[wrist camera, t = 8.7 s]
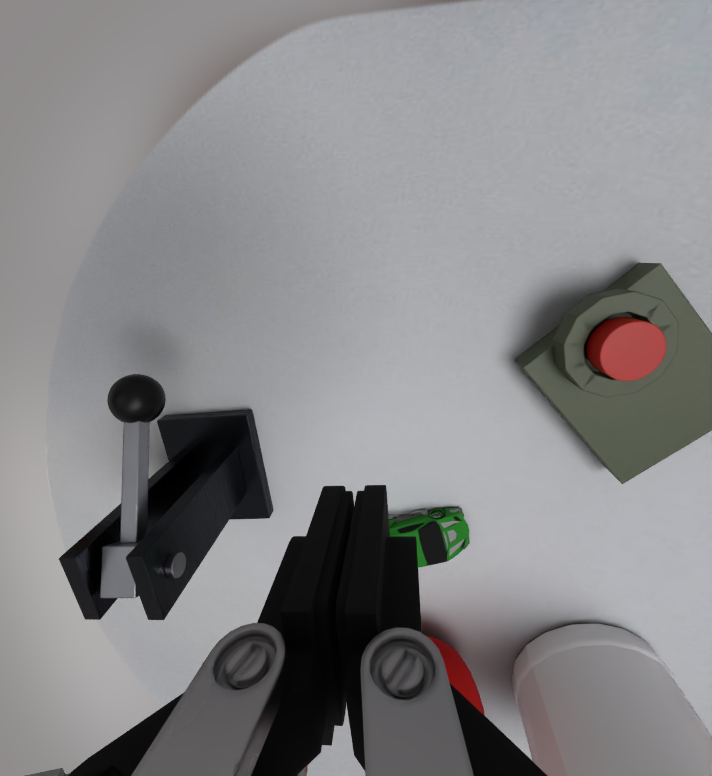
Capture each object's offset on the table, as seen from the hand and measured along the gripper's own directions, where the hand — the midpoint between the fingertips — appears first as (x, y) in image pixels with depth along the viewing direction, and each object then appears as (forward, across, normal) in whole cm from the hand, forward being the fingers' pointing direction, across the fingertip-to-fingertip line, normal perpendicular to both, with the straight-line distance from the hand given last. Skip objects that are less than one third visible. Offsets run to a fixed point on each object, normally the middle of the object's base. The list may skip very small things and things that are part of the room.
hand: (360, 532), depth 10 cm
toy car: (+21, -1, +16) cm, 26 cm away
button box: (+20, -17, +2) cm, 27 cm away
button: (+17, -15, -1) cm, 22 cm away
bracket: (+20, +15, +9) cm, 27 cm away
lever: (+12, +15, +5) cm, 20 cm away
